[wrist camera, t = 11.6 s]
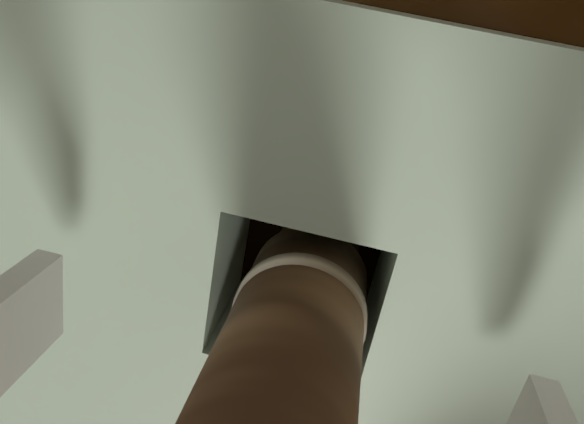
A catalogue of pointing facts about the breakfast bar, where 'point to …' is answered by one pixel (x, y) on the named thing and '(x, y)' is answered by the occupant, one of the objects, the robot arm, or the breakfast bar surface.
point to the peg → (289, 339)
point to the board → (292, 195)
